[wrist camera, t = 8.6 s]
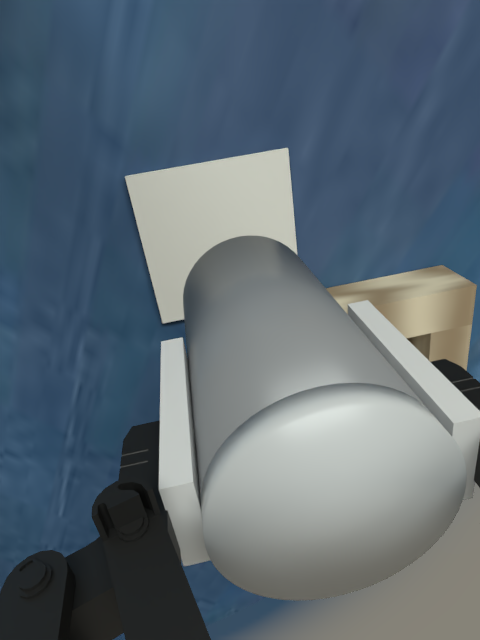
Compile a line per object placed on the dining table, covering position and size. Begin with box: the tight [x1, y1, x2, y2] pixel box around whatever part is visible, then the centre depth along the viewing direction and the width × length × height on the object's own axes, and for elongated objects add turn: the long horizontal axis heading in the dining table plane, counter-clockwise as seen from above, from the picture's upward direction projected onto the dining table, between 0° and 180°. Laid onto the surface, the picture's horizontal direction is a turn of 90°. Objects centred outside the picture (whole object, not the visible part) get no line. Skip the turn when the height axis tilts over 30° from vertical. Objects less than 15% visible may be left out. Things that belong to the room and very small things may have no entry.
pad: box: [125, 148, 297, 323], centre depth 29 cm, size 10×10×1 cm
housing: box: [326, 265, 477, 370], centre depth 33 cm, size 14×14×4 cm
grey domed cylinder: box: [183, 235, 467, 600], centre depth 15 cm, size 6×6×12 cm
